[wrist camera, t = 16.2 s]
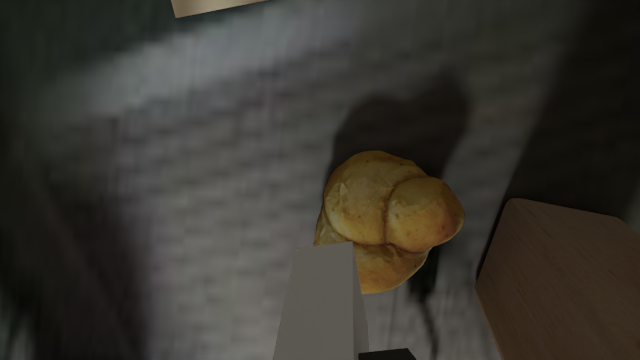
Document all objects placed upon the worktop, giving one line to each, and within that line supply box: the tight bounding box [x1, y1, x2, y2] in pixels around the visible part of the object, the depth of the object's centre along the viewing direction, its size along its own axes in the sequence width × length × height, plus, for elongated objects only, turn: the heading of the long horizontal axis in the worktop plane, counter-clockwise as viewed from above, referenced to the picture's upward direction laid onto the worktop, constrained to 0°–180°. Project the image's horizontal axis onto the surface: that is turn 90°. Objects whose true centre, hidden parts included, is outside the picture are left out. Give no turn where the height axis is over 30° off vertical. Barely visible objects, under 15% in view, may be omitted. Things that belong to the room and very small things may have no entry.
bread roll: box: [313, 151, 465, 294], centre depth 37 cm, size 13×10×8 cm
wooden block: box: [475, 198, 640, 360], centre depth 32 cm, size 10×10×20 cm
